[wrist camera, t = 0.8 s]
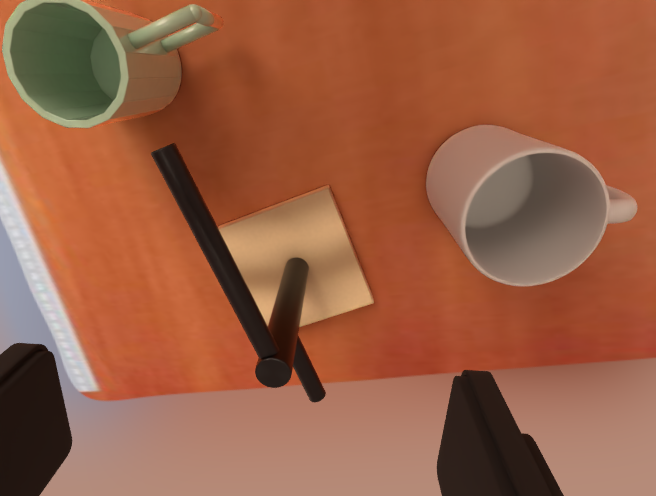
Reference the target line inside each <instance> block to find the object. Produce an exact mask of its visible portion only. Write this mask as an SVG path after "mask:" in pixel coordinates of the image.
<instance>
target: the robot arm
mask: <svg viewBox="0 0 656 496" xmlns="http://www.w3.org/2000/svg"><path fill="white" fill-rule="evenodd" d="M71 446H72V436H71V431H70V427H69V422H68V418H67V413H66V408H65V404H64V399H63V395H62V390H61V386H60V381H59V376H58V372H57V367H56V362H55V358H54V355H53V353H52V352H50V351H48V349H47V348H46V346H44V345H42V344H26V343H16V344H13V345H12V346H10V347H9V348H8V349H7V350H5V351H4V352H3V353H2V354H1V355H0V496H39V495H40V494H41V492H42V491H43V490H44V488H45V487H46V485H47V484H48V483H49V481H50V480H51V478H52V477H53V476H54V474H55V473H56V471H57V470H58V469H59V467H60V466H61V464H62V463H63V461H64V460H65V459H66V457H67V456H68V454H69V452H70V449H71ZM437 475H438V480H439V485H440V489H441V493H442V496H564V495H563V494H562V492H561V490H560V488H559V486H558V484H557V482H556V480H555V479H554V476H553V475H552V473H551V471H550V469H549V467H548V465H547V463H546V461H545V459H544V457H543V455H542V454H541V452H540V450H539V448H538V446H537V444H536V442H535V441H534V439H533V438H532V437H531V436H530V435H528V434H521V432H520V430H519V428H518V426H517V424H516V422H515V420H514V418H513V416H512V414H511V412H510V410H509V408H508V406H507V404H506V402H505V400H504V398H503V396H502V394H501V392H500V390H499V388H498V386H497V384H496V382H495V380H494V378H493V376H492V374H491V373H490V372H488V371H473V370H464V371H463V372H462V375H461V376H455V377H454V380H453V384H452V389H451V394H450V399H449V404H448V409H447V415H446V420H445V425H444V430H443V435H442V440H441V445H440V450H439V455H438V461H437Z"/></svg>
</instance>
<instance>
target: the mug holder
mask: <svg viewBox="0 0 656 496" xmlns="http://www.w3.org/2000/svg"><path fill="white" fill-rule="evenodd" d="M151 155H152V157H153V159H154V161H155V163H156V165H157V166H158V168H159V170H160V172H161V174H162V176H163V178H164V180H165V181H166V183H167V185H168V187H169V189H170V191H171V193H172V195H173V197H174V198H175V200H176V202H177V204H178V206H179V208H180V210H181V212H182V214H183V215H184V217H185V219H186V221H187V223H188V225H189V227H190V229H191V230H192V232H193V234H194V236H195V238H196V240H197V242H198V244H199V246H200V247H201V249H202V251H203V253H204V255H205V257H206V259H207V261H208V262H209V264H210V266H211V268H212V270H213V272H214V274H215V276H216V278H217V279H218V281H219V283H220V285H221V287H222V289H223V291H224V293H225V295H226V296H227V298H228V300H229V302H230V304H231V306H232V308H233V310H234V311H235V313H236V315H237V317H238V319H239V321H240V323H241V325H242V327H243V328H244V330H245V332H246V334H247V336H248V338H249V340H250V342H251V343H252V345H253V347H254V349H255V351H256V353H257V355H258V357H259V359H258V362H257V365H256V369H255V374H256V377H257V379H258V380H259V381H260V382H261V383H262V384H263V385H265V386H267V387H272V388H277V387H281V386H283V385H285V384H286V383H287V382H288V381H289V380H290V378H291V374H292V368H293V367H294V369H295V371H296V373H297V375H298V377H299V379H300V381H301V383H302V385H303V387H304V389H305V391H306V393H307V395H308V397H309V399H310V401H312V402H319V401H321V400H322V399H323V398H324V397H325V394H326V392H325V390H324V388H323V386H322V384H321V382H320V380H319V378H318V375H317V373H316V371H315V369H314V367H313V365H312V363H311V361H310V359H309V357H308V355H307V353H306V351H305V348H304V346H303V344H302V342H301V340H300V338H299V336H298V332H299V327H302V326H305V325H308V324H311V323H314V322H317V321H320V320H323V319H326V318H329V317H332V316H336V315H339V314H342V313H345V312H348V311H351V310H354V309H357V308H360V307H363V306H366V305H369V304H372V303H374V300H373V295H372V293H371V290H370V288H369V285H368V282H367V280H366V277H365V275H364V272H363V270H362V267H361V265H360V262H359V260H358V257H357V255H356V252H355V250H354V247H353V245H352V242H351V240H350V237H349V234H348V232H347V229H346V227H345V224H344V222H343V219H342V217H341V214H340V212H339V209H338V207H337V204H336V202H335V199H334V197H333V194H332V191H331V189H330V186H329V185H326V186H323V187H321V188H318V189H315V190H313V191H310V192H308V193H305V194H302V195H300V196H297V197H294V198H292V199H289V200H286V201H284V202H281V203H278V204H276V205H273V206H270V207H268V208H265V209H262V210H260V211H257V212H254V213H252V214H249V215H247V216H244V217H241V218H239V219H236V220H233V221H231V222H228V223H225V224H223V225H220V226H219V227H217V225H216V223H215V221H214V219H213V217H212V215H211V213H210V211H209V209H208V207H207V205H206V203H205V201H204V199H203V197H202V196H201V194H200V192H199V190H198V188H197V186H196V184H195V182H194V180H193V178H192V176H191V174H190V172H189V170H188V168H187V166H186V164H185V162H184V160H183V158H182V156H181V154H180V152H179V150H178V148H177V146H176V144H175V143H173V144H170V145H168V146H166V147H163V148H161V149H158V150H156V151H154V152H152V153H151Z"/></svg>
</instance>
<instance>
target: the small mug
mask: <svg viewBox="0 0 656 496" xmlns="http://www.w3.org/2000/svg"><path fill="white" fill-rule="evenodd" d="M195 22H196V24H194V25H192V26H189V25H191V24H193V23H195ZM223 25H224V21H223V19H222V17H221V16H219V15H217V14H215V13H213V12H211V11H209V10H207V9H204V8H202V7H200V6H198V5H196V4H190V5H188V6H186V7H183V8H181V9H179V10H177V11H175V12H173V13H171V14H169V15H167V16H164V17H162V18H160V19H158V20H156V21H154V22H152V21H151V20H149V19H147V18H144V17H142V16H139V15H137V14H134V13H131V12H127V11H124V10H120V9H117V8H113V7H110V6H106V5H103V4H100V3H96V2H93V1H89V0H26V1H24V2H22V3H20V4H19V5H18V6H17V7H16V9H15V10H14V12H13V13H12V15H11V16H10V18H9V19H8V21H7V22H6V25H5V31H4V38H3V45H2V49H3V50H2V52H3V56H4V61H5V65H6V69H7V73H8V76H9V78H10V80H11V82H12V83H13V85H14V87H15V88H16V90H17V91H18V93H19V95H20V96H21V98H22V99H23V101H25V102H26V103H27V104H28V105H29V106H30V107H31V108H32V109H34V110H35V111H36V112H37V113H38V114H39V115H40V116H42V117H43V118H45V119H47V120H50V121H52V122H54V123H57V124H59V125H61V126H64V127H67V128H92V127H97V126H101V125H106V124H110V123H115V122H120V121H124V120H129V119H133V118H138V117H142V116H147V115H150V114H152V113H156V112H158V111H160V110H162V109H164V108H165V107H167V106H168V105H169V104H170V103H171V102H172V101H173V99H174V98H175V96H176V94H177V93H178V90H179V87H180V83H181V77H182V67H181V61H180V57H179V54H178V51H177V49H178V48H180V47H182V46H185V45H187V44H189V43H191V42H193V41H196V40H198V39H200V38H202V37H204V36H206V35H209V34H211V33H213V32H215V31H217V30H220V29H221V28H222V27H223ZM187 26H189V27H187ZM184 27H187V28H185V29H183V30H181V31H179V32H177V33H174V32H176V31H178V30H180V29H182V28H184ZM172 33H174V34H172ZM169 34H172V35H170V36H168V35H169Z"/></svg>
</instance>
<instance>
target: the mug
mask: <svg viewBox="0 0 656 496" xmlns="http://www.w3.org/2000/svg"><path fill="white" fill-rule="evenodd" d="M426 191H427V196H428V199H429V202H430V204H431V206H432V208H433V210H434V212H435V213H436V214H437V216H438V217H439V218H440V219H441V221H442V222H443V224H444V225H445V226H446V228H447V229H448V231H449V232H450V234H451V235H452V237H453V238H454V240H455V241H456V242H457V244H458V245H459V247H460V248H461V250H462V251H463V253H464V254H465V256H466V257H467V258H468V260H469V261H470V262H471V263H472V265H473V266H474V267H475V268H476V269H478V270H479V271H480V272H481V273H482V274H484V275H485V276H487V277H488V278H490V279H492V280H494V281H497V282H500V283H503V284H507V285H512V286H535V285H541V284H545V283H548V282H551V281H554V280H556V279H559V278H561V277H563V276H565V275H567V274H568V273H570V272H571V271H573V270H574V269H576V268H577V267H578V266H579V265H581V264H582V263H583V262H584V261H585V260H586V259H587V258H588V257H589V256H590V255H591V253H592V252H593V251H594V250H595V248H596V247H597V245H598V244H599V242H600V240H601V238H602V236H603V234H604V232H605V229H606V226H607V224H609V223H623V222H626V221H629V220H631V219H632V218H633V217H634V216H635V214H636V212H637V203H636V201H635V199H634V198H632V197H631V196H630V195H629V194H627V193H625V192H623V191H621V190H618V189H616V188H613V187H610V186H607V185H606V184H605V182H604V180H603V178H602V176H601V175H600V173H599V172H598V170H597V169H596V168H595V167H594V166H593V165H592V164H591V163H590V162H589V161H587V160H586V159H585V158H583V157H582V156H580V155H578V154H576V153H575V152H572V151H570V150H567V149H564V148H562V147H559V146H556V145H553V144H550V143H547V142H544V141H541V140H538V139H535V138H532V137H529V136H526V135H523V134H520V133H517V132H515V131H513V130H510V129H507V128H505V127H501V126H496V125H478V126H473V127H469V128H466V129H464V130H462V131H460V132H458V133H456V134H454V135H453V136H451V137H450V138H449V139H448V140H446V141H445V142H444V143H443V144H442V145H441V146H440V148H439V149H438V150H437V152H436V153H435V155H434V156H433V158H432V160H431V162H430V165H429V168H428V171H427V177H426Z"/></svg>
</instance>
